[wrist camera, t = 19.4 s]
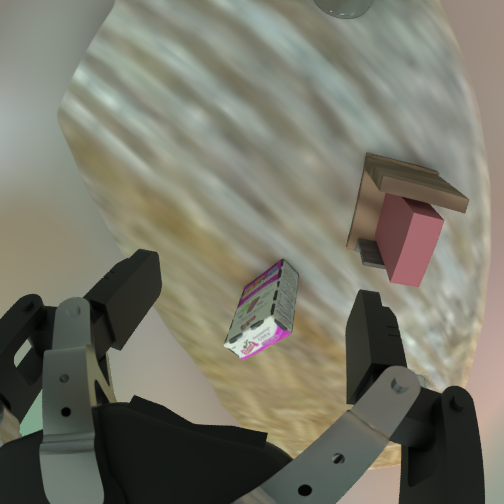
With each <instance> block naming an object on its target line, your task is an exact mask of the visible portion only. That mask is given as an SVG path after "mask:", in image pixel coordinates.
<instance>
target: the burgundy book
mask: <svg viewBox="0 0 504 504" xmlns="http://www.w3.org/2000/svg"><path fill="white" fill-rule="evenodd" d="M443 223H444V219H443V218H442V217H441V216H440V215H439V214H438V213H437V212H436V211H435V209H434V208H433V207H432V206H431V205H430V204H429V203H426V202H422V201H418V200H414V199H410V198H406V197H402V196H398V195H393V194H389V193H386V194H385V198H384V202H383V206H382V210H381V214H380V217H379V221H378V225H377V229H376V232H375V239H376V241H377V244H378V247H379V250H380V253H381V256H382V259H383V262H384V265H385V268H386V271H387V274H388V277H389V280H390V282H391V283H397V284H403V285H409V286H415V287H419V285H420V283H421V281H422V279H423V276H424V274H425V271H426V269H427V266H428V264H429V262H430V259H431V256H432V254H433V251H434V249H435V246H436V243H437V240H438V238H439V235H440V232H441V229H442V226H443Z"/></svg>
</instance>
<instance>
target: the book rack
mask: <svg viewBox="0 0 504 504" xmlns="http://www.w3.org/2000/svg"><path fill="white" fill-rule="evenodd" d="M438 175H439V173H438V172H437V171H434V170H431V169H427V168H424V167H420V166H417V165H413V164H410V163H406V162H402V161H398V160H394V159H390V158H386V157H382V156H378V155H373V154H369V153H366V158H365V164H364V169H363V174H362V179H361V184H360V189H359V194H358V199H357V203H356V208H355V212H354V216H353V221H352V225H351V229H350V233H349V237H348V241H347V245H346V247H347V249H350V250H355V252H360V254H361V259H362V263H363V265H364V266H370V267H376V268H381V269H386V268H385V265H384V262H383V259H382V256H381V253H380V250H379V247H378V244H377V241H376V239H375V232H376V229H377V225H378V221H379V217H380V214H381V210H382V206H383V202H384V198H385V194H386V193H389V194H393V195H398V196H402V197H406V198H410V199H414V200H418V201H422V202H426V203H429V204H430V205H431V204H433V205H437V206H441V207H444V208H448V209H452V210H455V211H458V212H462V213H465V212H466V209H467V206H468V203H469V199H468V198H467V197H466V196H464V195H463V194H462V193H460V192H459V191H458V190H457V189H455V188H454V187H453V186H451V185H450V184H449V183H447V182H446V181H445V180H443V179H442V178H441V177H439V176H438Z"/></svg>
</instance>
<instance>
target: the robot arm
mask: <svg viewBox="0 0 504 504" xmlns="http://www.w3.org/2000/svg"><path fill="white" fill-rule="evenodd" d="M314 1H315V3H316V4H317V5H318V6H319V7H320V8H321V9H322V10H323V11H324V12H326V13H328V14H330V15H332V16H334V17H338V18H345V19H349V18H355V17H359V16H361V15H363V14H364V13H365V12H366V11H367V10H368V8H369V7H370V5H371V3H372V2H373V0H314ZM161 288H162V280H161V272H160V263H159V255H158V253H157V252H154V251H149V250H144V249H138V250H137V251H136V252H135V253H134V254H133V255H132V256H131V257H130V258H126V259H124V260H123V261H121V262H119V263H117V264H116V265H115V266H114V267H113V268H112V269H111V270H110V271H109V272H108V273H107V274H106V275H105V276H104V278H102V279H101V280H100V281H99V282H98V283H97V284H96V285H95V286H94V287H93V288H92V289H91V290H90V291H89V292H88V293H87V294H86V295H85V296H84V297H83V298H81V297H73V298H69V299H66V300H65V301H63V302H62V303H60V305H59V306H58V307H51V306H44V304H43V301H42V299H41V297H40V296H39V295H37V294H29V295H25V296H23V297H22V298H20V299H19V300H18V301H17V302H16V303H15V304H14V305H13V306H12V307H11V308H10V309H9V310H8V311H7V312H6V313H5V314H4V316H3V317H2V318H1V319H0V504H336V503H337V502H338V501H339V500H340V499H341V497H343V496H344V495H345V493H346V492H347V491H348V490H349V489H350V488H351V487H352V486H353V485H354V484H355V483H356V482H357V481H358V479H359V478H360V477H361V476H362V475H363V474H364V472H365V471H366V470H367V469H368V468H369V467H370V466H371V465H372V463H373V462H374V461H375V460H376V458H377V457H378V456H379V455H380V453H381V452H382V451H383V450H384V448H385V447H386V446H387V444H388V443H389V441H392V442H395V443H398V444H401V478H400V479H401V480H400V494H399V504H485V487H484V469H483V459H482V449H481V443H480V435H479V428H478V422H477V417H476V411H475V406H474V402H473V399H472V397H471V395H470V394H469V393H468V392H467V391H466V390H465V389H463V388H462V387H459V386H450V387H448V388H446V389H445V390H444V391H443V393H442V394H441V393H438V392H435V391H432V390H429V389H427V388H424V387H422V386H421V385H420V381H419V379H418V377H417V376H416V374H415V373H414V372H412V371H411V370H410V369H408V368H407V363H406V358H405V353H404V349H403V344H402V339H401V338H400V336H401V335H400V331H399V329H398V328H399V327H398V322H397V318H396V316H395V315H394V313H393V312H392V311H391V309H390V308H389V307H384V306H382V302H381V298H380V294H379V292H374V291H367V290H361V289H360V290H359V291H358V294H357V296H356V299H355V302H354V305H353V308H352V310H351V313H350V316H349V318H348V321H347V326H346V334H345V336H346V372H347V402H346V404H352V405H354V406H353V407H352V408H351V409H350V410H347V411H346V412H345V413H344V414H343V415H342V416H341V417H340V418H339V419H338V420H337V421H336V422H335V423H334V424H333V425H332V426H330V427H329V428H328V429H327V430H326V431H325V432H324V433H323V434H322V435H321V436H320V437H319V438H318V439H317V440H316V441H314V442H313V443H312V444H311V445H310V446H309V447H308V448H307V449H305V450H304V451H303V452H302V453H301V454H300V455H298V456H297V457H296V458H295V459H293V458H292V457H290V456H289V455H288V454H287V453H286V452H284V451H283V450H282V449H280V448H279V447H277V446H275V445H273V444H271V443H269V442H267V441H266V439H267V434H268V433H265V432H260V431H255V430H250V429H245V428H240V427H236V426H223V425H221V426H220V425H200V424H193V423H191V422H189V421H187V420H186V419H184V418H182V417H181V416H179V415H177V414H176V413H174V412H172V411H171V410H169V409H168V408H166V407H164V406H163V405H160V404H157V403H154V402H151V401H148V400H146V399H143V398H141V397H138V396H136V395H134V396H133V398H132V399H131V401H130V403H127V402H117V401H116V398H115V395H114V390H113V385H112V378H111V371H110V364H109V357H108V353H107V351H108V349H109V348H110V347H112V348H115V349H117V350H120V351H121V349H122V348H123V346H124V345H125V344H126V342H127V341H128V339H129V338H130V336H131V335H132V333H133V332H134V331H135V329H136V328H137V326H138V325H139V323H140V322H141V321H142V319H143V318H144V316H145V315H146V314H147V312H148V311H149V309H150V308H151V307H152V305H153V304H154V302H155V301H156V300H157V298H158V297H159V295H160V292H161ZM27 339H28V341H29V342H30V344H31V346H32V348H31V349H30V350H29V352H28V353H27V354H26V356H25V357H24V358H23V360H22V361H21V362H20V364H19V365H18V366H17V368H16V366H15V364H14V356H15V354H16V352H17V351H18V350H19V348H20V347H21V346H22V345H23V343H24V342H25V341H26V340H27ZM41 389H42V417H43V429H42V430H39V431H37V432H34V433H31V434H29V435H26V436H23V437H22V434H21V433H20V432H19V431H20V424H21V422H22V420H23V419H24V417H25V415H26V414H27V412H28V410H29V409H30V407H31V405H32V404H33V402H34V400H35V399H36V397H37V396H38V394H39V393H40V391H41Z"/></svg>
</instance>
